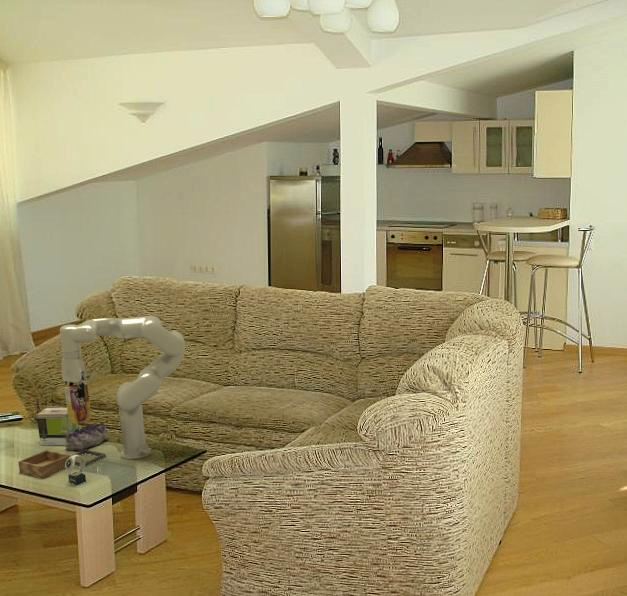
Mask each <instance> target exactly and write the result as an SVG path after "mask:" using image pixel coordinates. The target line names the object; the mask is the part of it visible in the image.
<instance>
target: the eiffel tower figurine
mask: <svg viewBox="0 0 627 596" xmlns="http://www.w3.org/2000/svg"><path fill="white" fill-rule="evenodd" d="M35 398H36V413H35V415H34V416H33V422H37V414H38V413H40V412H41V411H42V410H41V408H40V405H39V404H40V403H39V397H38V395H36V397H35ZM28 419H32V417H30V416H29V417H27V418H23V420H28Z"/></svg>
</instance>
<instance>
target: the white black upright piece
mask: <svg viewBox="0 0 627 596" xmlns="http://www.w3.org/2000/svg"><path fill="white" fill-rule="evenodd" d="M72 455H73V456H71V455H70V457H69V458H68V459H67V460H66V462H65V469H64V470H65V471H66V472H67V474H68V475H67V476H68V483H69V482H70V484H72V483H73V484H72V485H74V484H75V485H74V486H79V485H81V483H82V484H84V483H83V482H85V483H87V478H86V477H87V476H86V474H85V473H83V472H84V470H85V468H86V467H85V462H86V460H85V458H84V457H83V455H81V456H79V455H74V454H72ZM76 457H77V458H80V460H81V461H80V462H81V464H80V466H79V467H78V471H76V472H73V473H72V470H73V469H74V468H75V467H76V466H75V461H76V459H77V458H76Z"/></svg>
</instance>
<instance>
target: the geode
mask: <svg viewBox="0 0 627 596" xmlns="http://www.w3.org/2000/svg"><path fill="white" fill-rule="evenodd" d="M65 440H66V443H65V445H64V446H65V450H66V451H79V452H80V451H83V450H87V449H88V448H92V447H93V448H94V447H97V446H101V444H103V442H106V441H109V436H108V429H107V427H106V425H105V424H104V423H103V422H100V424H99V423H97V424H95V423H92V424H91V425H90V424H87V425H85V426H83V427H81V428H79V430H76V431H72V432H70V434H68V435H66V437H65Z"/></svg>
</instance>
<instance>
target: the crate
mask: <svg viewBox="0 0 627 596" xmlns="http://www.w3.org/2000/svg"><path fill="white" fill-rule="evenodd" d="M70 456H71V454H67V453H62V452H57V451H53V450H48V449H45V450H43V451H40V452H37V453H35V454H33V455H31V456H28V457H26V458H23V459H21V460H19V461H18V470H19V474H21V473H22V475H26V476H30V477H34V476H35V477H36V478H38V477H39V478H40V479H43V480H44V479H47V478H49V477H52V476H53V475H56V474H57V472H58V473H60V472H62V471H64V470H66V469H65V462H66V460H67V459H68V458H69V457H70ZM63 469H64V470H63ZM61 470H62V471H61ZM59 471H60V472H59ZM55 473H56V474H55ZM46 477H47V478H46Z"/></svg>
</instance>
